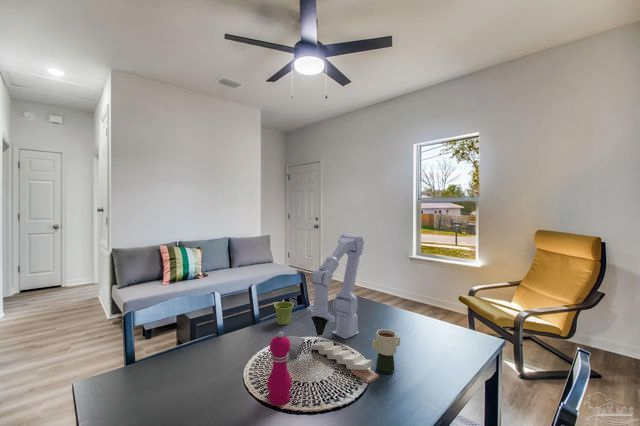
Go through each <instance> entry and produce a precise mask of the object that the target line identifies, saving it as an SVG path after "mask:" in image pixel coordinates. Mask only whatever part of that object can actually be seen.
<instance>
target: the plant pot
mask: <svg viewBox="0 0 640 426" xmlns="http://www.w3.org/2000/svg"><path fill="white" fill-rule="evenodd" d="M294 306H295V305H294V303H293V302H290V301H280V302H276V303H274V305H273V307H274V310H275V315H276V316H275V317H276V322H277V323H276V324H278V325H281V326H283V325H284V326H286V325H289V324H290V322H291V316H292V310H293V309H294Z"/></svg>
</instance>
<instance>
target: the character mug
mask: <svg viewBox="0 0 640 426" xmlns="http://www.w3.org/2000/svg"><path fill="white" fill-rule="evenodd" d="M397 335H398V334H397V333H396V331H393V330H392V329H385V328H384V329H383V328H380V329H378V330H377V331H376V334H375V339H372V340H371V349H372V350H376V352H377V353H378V354H377V358H376V367H375V368H376V370H378V371H380V372H382V373H384V374H390V373H393V372H395V359H394V358H395V357H394V355H395V354H396V353H397V347H399V346H400V345H401V343H400V342H401V338H400V336H397Z"/></svg>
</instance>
